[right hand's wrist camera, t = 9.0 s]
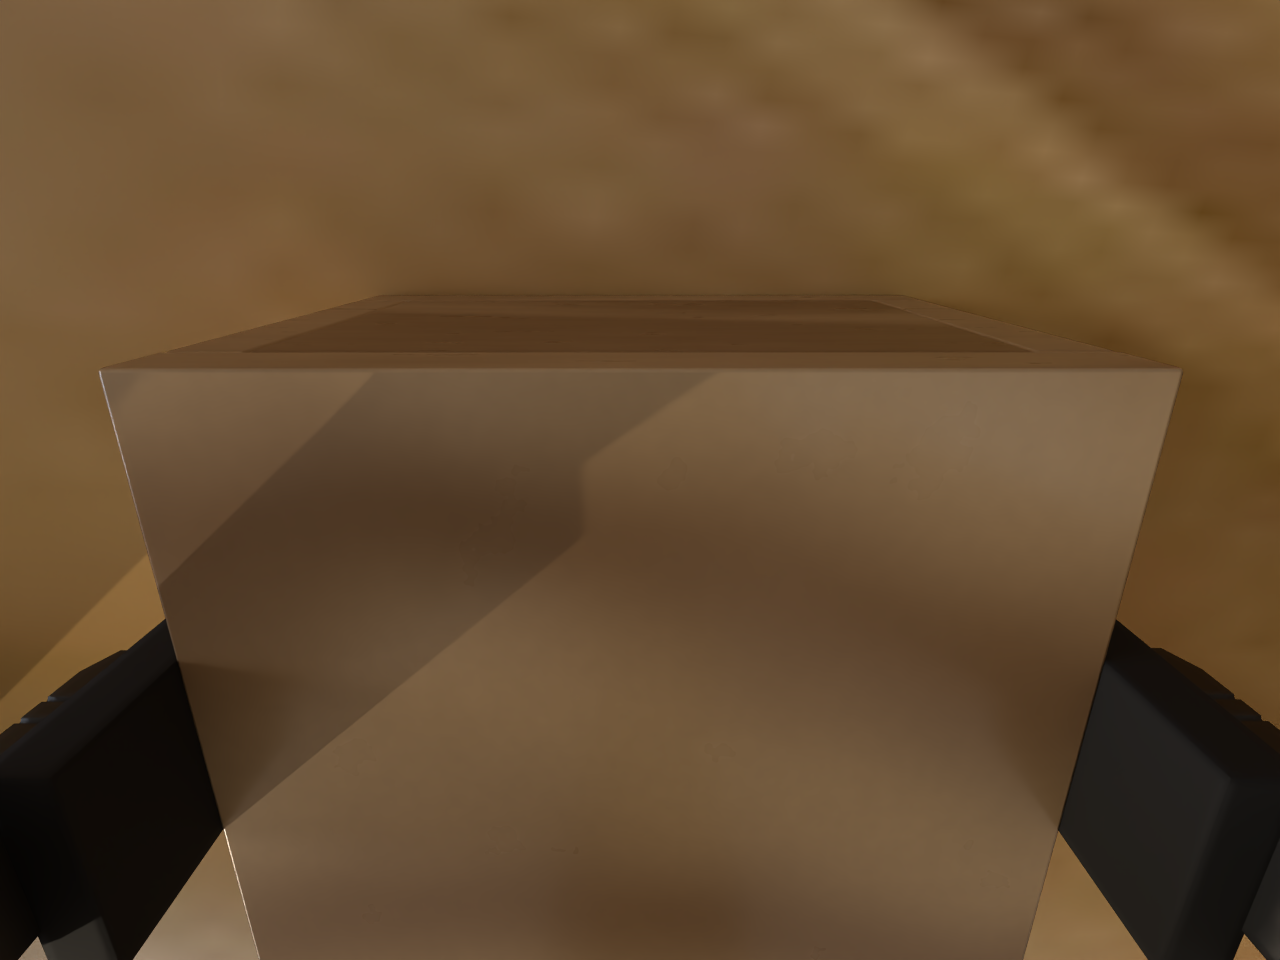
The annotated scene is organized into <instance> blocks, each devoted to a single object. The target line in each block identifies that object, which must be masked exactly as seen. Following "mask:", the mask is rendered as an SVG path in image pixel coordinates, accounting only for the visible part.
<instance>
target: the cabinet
mask: <svg viewBox="0 0 1280 960" xmlns="http://www.w3.org/2000/svg"><path fill="white" fill-rule="evenodd" d="M1182 375H1183V370H1182V369H1181V368H1179V367H1175V366H1172V365H1168V364H1164V363H1160V362H1156V361H1153V360H1149V359H1145V358H1141V357H1137V356H1133V355H1130V354H1126V353H1122V352H1114V351H1112V350H1108V349H1104V348H1100V347H1097V346H1093V345H1089V344H1085V343H1081V342H1078V341H1074V340H1070V339H1066V338H1062V337H1059V336H1055V335H1051V334H1047V333H1043V332H1040V331H1036V330H1032V329H1028V328H1024V327H1021V326H1017V325H1013V324H1009V323H1005V322H1002V321H998V320H994V319H990V318H986V317H983V316H979V315H975V314H971V313H967V312H964V311H960V310H956V309H952V308H948V307H945V306H941V305H937V304H933V303H929V302H926V301H922V300H918V299H914V298H911V297H907V296H903V295H802V296H376V297H372V298H368V299H365V300H361V301H357V302H353V303H349V304H345V305H342V306H338V307H334V308H330V309H327V310H323V311H319V312H315V313H311V314H308V315H304V316H300V317H296V318H292V319H289V320H285V321H281V322H277V323H273V324H270V325H266V326H262V327H258V328H254V329H251V330H247V331H243V332H239V333H235V334H232V335H228V336H224V337H220V338H216V339H213V340H209V341H205V342H201V343H197V344H194V345H190V346H186V347H182V348H178V349H175V350H171V351H168V352H166V353H157V354H153V355H149V356H146V357H142V358H138V359H134V360H130V361H127V362H123V363H119V364H115V365H111V366H107V367H104V368H101V369H100V370H99V376H100V380H101V384H102V387H103V391H104V395H105V398H106V402H107V406H108V409H109V413H110V417H111V420H112V424H113V428H114V431H115V435H116V439H117V442H118V446H119V450H120V453H121V457H122V460H123V464H124V468H125V471H126V475H127V479H128V482H129V486H130V490H131V493H132V497H133V501H134V504H135V508H136V512H137V515H138V519H139V523H140V526H141V530H142V534H143V537H144V541H145V545H146V548H147V552H148V556H149V559H150V563H151V567H152V570H153V574H154V578H155V581H156V585H157V589H158V592H159V596H160V600H161V603H162V607H163V611H164V614H165V618H166V622H167V625H168V629H169V633H170V636H171V640H172V644H173V647H174V651H175V654H176V658H177V662H178V665H179V669H180V673H181V676H182V680H183V684H184V687H185V691H186V695H187V698H188V702H189V706H190V709H191V713H192V717H193V720H194V724H195V728H196V731H197V735H198V739H199V742H200V746H201V750H202V753H203V757H204V761H205V764H206V768H207V772H208V775H209V779H210V783H211V786H212V790H213V794H214V797H215V801H216V805H217V808H218V812H219V816H220V819H221V823H222V827H223V830H224V834H225V838H226V841H227V845H228V848H229V852H230V856H231V859H232V863H233V867H234V870H235V874H236V878H237V881H238V885H239V889H240V892H241V896H242V900H243V903H244V907H245V911H246V914H247V918H248V922H249V925H250V929H251V933H252V936H253V940H254V944H255V947H256V951H257V955H258V958H259V960H1023V958H1024V954H1025V951H1026V947H1027V943H1028V940H1029V936H1030V932H1031V929H1032V925H1033V921H1034V918H1035V914H1036V910H1037V907H1038V903H1039V899H1040V896H1041V892H1042V888H1043V885H1044V881H1045V877H1046V874H1047V870H1048V866H1049V863H1050V859H1051V855H1052V852H1053V848H1054V844H1055V841H1056V837H1057V833H1058V830H1059V826H1060V822H1061V819H1062V815H1063V811H1064V808H1065V804H1066V800H1067V797H1068V793H1069V789H1070V786H1071V782H1072V778H1073V775H1074V771H1075V767H1076V764H1077V760H1078V756H1079V753H1080V749H1081V745H1082V742H1083V738H1084V734H1085V731H1086V727H1087V723H1088V720H1089V716H1090V712H1091V709H1092V705H1093V701H1094V698H1095V694H1096V690H1097V687H1098V683H1099V679H1100V676H1101V672H1102V668H1103V665H1104V661H1105V657H1106V654H1107V650H1108V646H1109V643H1110V639H1111V635H1112V632H1113V628H1114V624H1115V621H1116V617H1117V613H1118V610H1119V606H1120V602H1121V599H1122V595H1123V591H1124V588H1125V584H1126V580H1127V577H1128V573H1129V569H1130V566H1131V562H1132V558H1133V555H1134V551H1135V547H1136V544H1137V540H1138V536H1139V533H1140V529H1141V525H1142V522H1143V518H1144V514H1145V511H1146V507H1147V503H1148V500H1149V496H1150V492H1151V489H1152V485H1153V481H1154V478H1155V474H1156V470H1157V467H1158V463H1159V459H1160V456H1161V452H1162V448H1163V445H1164V441H1165V437H1166V434H1167V430H1168V426H1169V423H1170V419H1171V415H1172V412H1173V408H1174V404H1175V401H1176V397H1177V393H1178V390H1179V386H1180V382H1181V379H1182Z"/></svg>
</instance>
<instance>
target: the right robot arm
mask: <svg viewBox="0 0 1280 960" xmlns="http://www.w3.org/2000/svg"><path fill="white" fill-rule="evenodd" d="M222 830H223V827H222V823H221V819H220V816H219V812H218V808H217V805H216V801H215V797H214V794H213V790H212V786H211V783H210V779H209V775H208V772H207V768H206V764H205V761H204V757H203V753H202V750H201V746H200V742H199V739H198V735H197V731H196V728H195V724H194V720H193V717H192V713H191V709H190V706H189V702H188V698H187V695H186V691H185V687H184V684H183V680H182V676H181V673H180V669H179V665H178V662H177V658H176V654H175V651H174V647H173V644H172V640H171V636H170V633H169V629H168V625H167V622H166V619H165V620H163V621H162V622H161V623H160V624H159V625H157V626H156V627H155V628H154V629H153V630H151V631H150V632H149V633H148V634H146V635H145V636H144V637H143V638H142V639H140V640H139V641H138V642H137V643H136V644H134V645H133V646H132V647H131V648H129V649H128V650H121V651H119V652H117V653H115V654H113V655H111V656H109V657H107V658H105V659H103V660H101V661H99V662H97V663H96V664H94V665H92V666H90V667H88V668H86V669H84V670H82V671H80V672H79V673H77V674H76V675H75V676H74V677H72V678H71V679H70V680H69V681H67V682H66V683H65V684H64V685H62V686H61V687H60V688H58V689H57V690H56V691H55V692H53V693H52V694H51V695H50V696H48V700H47V702H41V703H40V704H38V705H37V706H36V707H34V708H33V709H32V710H31V711H29V712H28V713H27V714H26V715H24V716H23V717H22V718H21V722H20V723H19V724H13V725H12V726H10V727H9V728H8V729H7V730H5V731H4V732H3V733H2V734H0V960H18V959H19V958H20V957H21V955H22V954H23V953H24V952H25V951H26V950H27V948H28V947H29V946H30V945H31V944H32V942H33V941H34V940H35V939H36V938H37V937H39V940H40V942H41V944H42V947H43V949H44V952H45V954H46V956H47V959H48V960H133V959H134V957H135V956H136V954H137V953H138V951H139V950H140V948H141V947H142V946H143V944H144V943H145V941H146V940H147V938H148V937H149V935H150V934H151V933H152V931H153V930H154V928H155V927H156V925H157V924H158V922H159V921H160V920H161V918H162V917H163V915H164V914H165V912H166V911H167V909H168V908H169V907H170V905H171V904H172V902H173V901H174V899H175V898H176V897H177V895H178V894H179V892H180V891H181V889H182V888H183V886H184V885H185V884H186V882H187V881H188V879H189V878H190V876H191V875H192V873H193V872H194V871H195V869H196V868H197V866H198V865H199V863H200V862H201V860H202V859H203V858H204V856H205V855H206V853H207V852H208V850H209V849H210V847H211V846H212V845H213V843H214V842H215V840H216V839H217V837H218V836H219V835H220V833H221V832H222ZM1058 831H1059V832H1060V833H1061V835H1062V836H1063V838H1064V839H1065V841H1066V842H1067V844H1068V845H1069V846H1070V848H1071V849H1072V851H1073V852H1074V854H1075V855H1076V856H1077V858H1078V859H1079V861H1080V862H1081V864H1082V865H1083V867H1084V868H1085V869H1086V871H1087V872H1088V874H1089V875H1090V877H1091V878H1092V880H1093V881H1094V882H1095V884H1096V885H1097V887H1098V888H1099V890H1100V891H1101V893H1102V894H1103V895H1104V897H1105V898H1106V900H1107V901H1108V903H1109V904H1110V906H1111V907H1112V908H1113V910H1114V911H1115V913H1116V914H1117V916H1118V917H1119V918H1120V920H1121V921H1122V923H1123V924H1124V926H1125V927H1126V929H1127V930H1128V931H1129V933H1130V934H1131V936H1132V937H1133V939H1134V940H1135V942H1136V943H1137V944H1138V946H1139V947H1140V949H1141V950H1142V952H1143V953H1144V955H1145V956H1146V957H1147V959H1148V960H1233V959H1234V957H1235V954H1236V952H1237V949H1238V947H1239V945H1240V942H1241V940H1242V937H1243V935H1244V934H1245V935H1246V936H1247V937H1248V939H1249V940H1250V941H1251V942H1252V943H1253V944H1254V946H1255V947H1256V948H1257V949H1258V950H1259V951H1260V953H1261V954H1262V955H1263V956H1264V957H1265V958H1266V960H1280V730H1279V729H1277V728H1276V727H1275V726H1274V725H1272V724H1271V723H1270V722H1269V721H1262V719H1261V715H1260V714H1258V713H1257V712H1256V711H1255V710H1253V709H1252V708H1251V707H1249V706H1248V705H1247V704H1246V703H1244V702H1243V701H1242V700H1236V699H1235V698H1234V694H1233V693H1232V692H1230V691H1229V690H1228V689H1227V688H1225V687H1224V686H1223V685H1221V684H1220V683H1219V682H1218V681H1216V680H1215V679H1214V678H1213V677H1211V676H1210V675H1209V674H1207V673H1206V672H1205V671H1204V670H1202V669H1200V668H1199V667H1197V666H1195V665H1193V664H1191V663H1189V662H1187V661H1185V660H1183V659H1181V658H1179V657H1177V656H1175V655H1173V654H1171V653H1169V652H1167V651H1166V650H1164V649H1162V648H1150V647H1149V646H1148V645H1147V644H1145V643H1144V642H1143V641H1142V640H1140V639H1139V638H1138V637H1137V636H1136V635H1134V634H1133V633H1132V632H1131V631H1130V630H1128V629H1127V628H1126V627H1125V626H1123V625H1122V624H1121V623H1120V622H1119V621H1117V620H1116V621H1115V624H1114V628H1113V632H1112V635H1111V639H1110V643H1109V646H1108V650H1107V654H1106V657H1105V661H1104V665H1103V668H1102V672H1101V676H1100V679H1099V683H1098V687H1097V690H1096V694H1095V698H1094V701H1093V705H1092V709H1091V712H1090V716H1089V720H1088V723H1087V727H1086V731H1085V734H1084V738H1083V742H1082V745H1081V749H1080V753H1079V756H1078V760H1077V764H1076V767H1075V771H1074V775H1073V778H1072V782H1071V786H1070V789H1069V793H1068V797H1067V800H1066V804H1065V808H1064V811H1063V815H1062V819H1061V822H1060V826H1059V830H1058Z"/></svg>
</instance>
